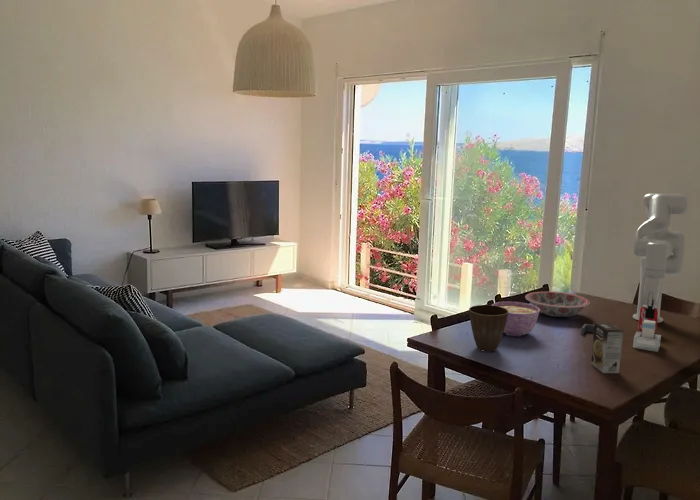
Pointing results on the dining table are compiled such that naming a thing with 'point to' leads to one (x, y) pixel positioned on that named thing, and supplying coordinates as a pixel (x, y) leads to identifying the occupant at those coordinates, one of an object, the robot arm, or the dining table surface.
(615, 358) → the coffee box
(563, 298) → the ceramic bowl
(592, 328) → the dark grey bracket
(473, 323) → the plant pot
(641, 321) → the soda can
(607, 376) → the dining table surface
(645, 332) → the plug
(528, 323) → the bowl of food
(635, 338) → the port
